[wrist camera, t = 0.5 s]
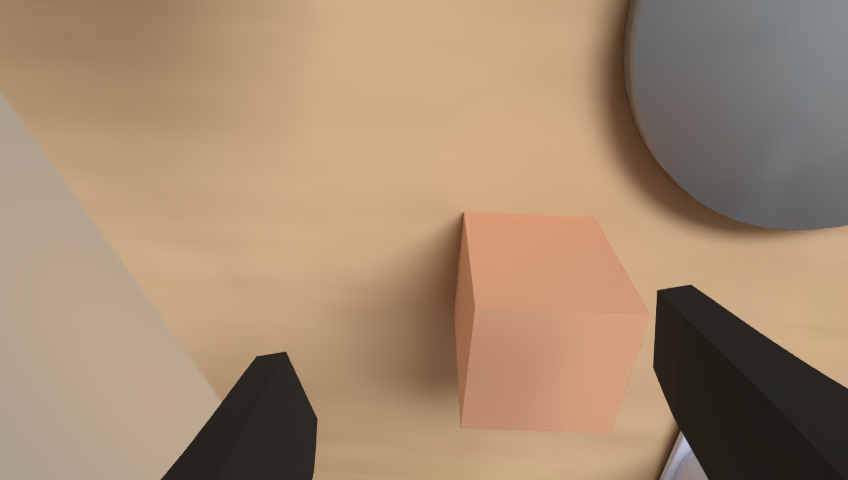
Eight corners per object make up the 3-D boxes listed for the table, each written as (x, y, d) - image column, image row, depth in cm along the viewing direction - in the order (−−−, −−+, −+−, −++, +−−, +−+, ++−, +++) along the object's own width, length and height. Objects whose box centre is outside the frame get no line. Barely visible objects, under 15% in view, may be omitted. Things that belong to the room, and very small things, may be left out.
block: (569, 319, 23) (610, 434, 17) (454, 314, 23) (460, 427, 17) (594, 217, 20) (650, 315, 15) (464, 210, 20) (475, 307, 15)
